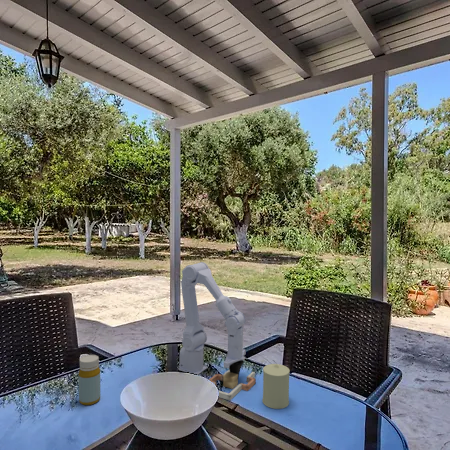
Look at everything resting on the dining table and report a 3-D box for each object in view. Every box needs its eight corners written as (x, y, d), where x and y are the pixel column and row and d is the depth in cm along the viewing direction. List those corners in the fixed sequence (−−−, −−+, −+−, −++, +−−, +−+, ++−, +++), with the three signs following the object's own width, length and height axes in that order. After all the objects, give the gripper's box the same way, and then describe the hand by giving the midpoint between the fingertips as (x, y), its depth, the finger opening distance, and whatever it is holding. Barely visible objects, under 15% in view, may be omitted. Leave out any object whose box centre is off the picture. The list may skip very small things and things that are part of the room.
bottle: (104, 398, 131) (104, 356, 130) (89, 408, 124) (89, 364, 123) (89, 393, 134) (89, 352, 133) (74, 403, 127) (73, 360, 126)
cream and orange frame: (200, 391, 136) (200, 386, 136) (227, 369, 154) (227, 365, 154) (236, 402, 129) (236, 397, 129) (260, 378, 147) (260, 373, 146)
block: (223, 386, 140) (223, 375, 140) (228, 381, 143) (228, 371, 143) (232, 389, 138) (232, 378, 138) (237, 384, 141) (237, 374, 141)
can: (288, 395, 134) (288, 363, 133) (290, 409, 125) (290, 375, 124) (262, 394, 135) (262, 361, 134) (262, 408, 125) (263, 373, 125)
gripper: (235, 353, 134) (235, 389, 135) (252, 340, 147) (252, 373, 148) (218, 349, 138) (218, 385, 139) (236, 337, 150) (236, 369, 151)
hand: (234, 378), depth 144 cm, fingers closed
